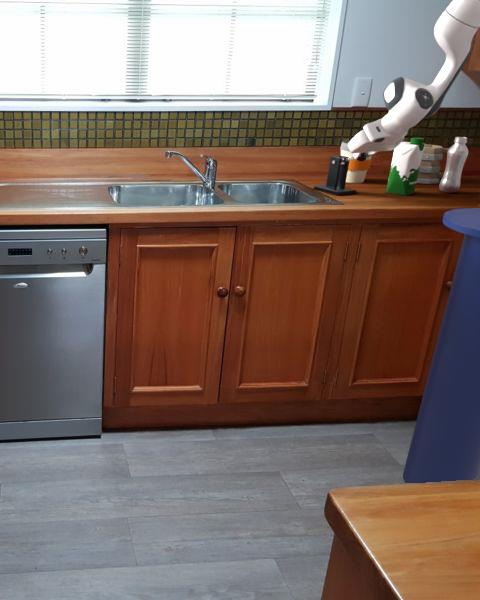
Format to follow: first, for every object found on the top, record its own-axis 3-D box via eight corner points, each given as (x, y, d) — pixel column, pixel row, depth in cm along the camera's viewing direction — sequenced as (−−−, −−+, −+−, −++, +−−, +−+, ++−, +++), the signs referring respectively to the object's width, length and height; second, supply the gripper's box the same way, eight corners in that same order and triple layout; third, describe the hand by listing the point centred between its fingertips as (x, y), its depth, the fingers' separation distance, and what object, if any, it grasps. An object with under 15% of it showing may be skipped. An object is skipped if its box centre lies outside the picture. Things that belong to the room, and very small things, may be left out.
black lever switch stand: (356, 193, 223) (362, 158, 219) (337, 195, 220) (343, 159, 215) (331, 187, 234) (337, 153, 229) (313, 189, 230) (318, 154, 225)
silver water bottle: (442, 189, 231) (454, 135, 224) (461, 192, 226) (475, 137, 219) (434, 191, 227) (447, 137, 220) (454, 194, 223) (468, 139, 215)
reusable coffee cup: (328, 178, 251) (334, 141, 245) (356, 177, 253) (363, 140, 247) (346, 184, 239) (353, 145, 233) (375, 183, 241) (382, 144, 236)
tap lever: (370, 160, 212) (369, 149, 212) (362, 160, 211) (361, 150, 211) (340, 166, 225) (339, 157, 224) (333, 167, 223) (332, 157, 223)
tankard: (404, 182, 243) (412, 144, 238) (401, 177, 254) (409, 140, 248) (461, 186, 236) (470, 147, 231) (456, 181, 247) (465, 143, 241)
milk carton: (407, 196, 219) (419, 139, 212) (382, 192, 226) (393, 137, 218) (417, 193, 225) (429, 137, 217) (392, 189, 231) (403, 135, 224)
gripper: (406, 122, 207) (377, 147, 219) (362, 124, 199) (334, 150, 211) (415, 136, 205) (385, 162, 217) (370, 139, 197) (342, 165, 209)
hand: (360, 156), depth 214 cm, fingers closed on tap lever, 3 cm apart
